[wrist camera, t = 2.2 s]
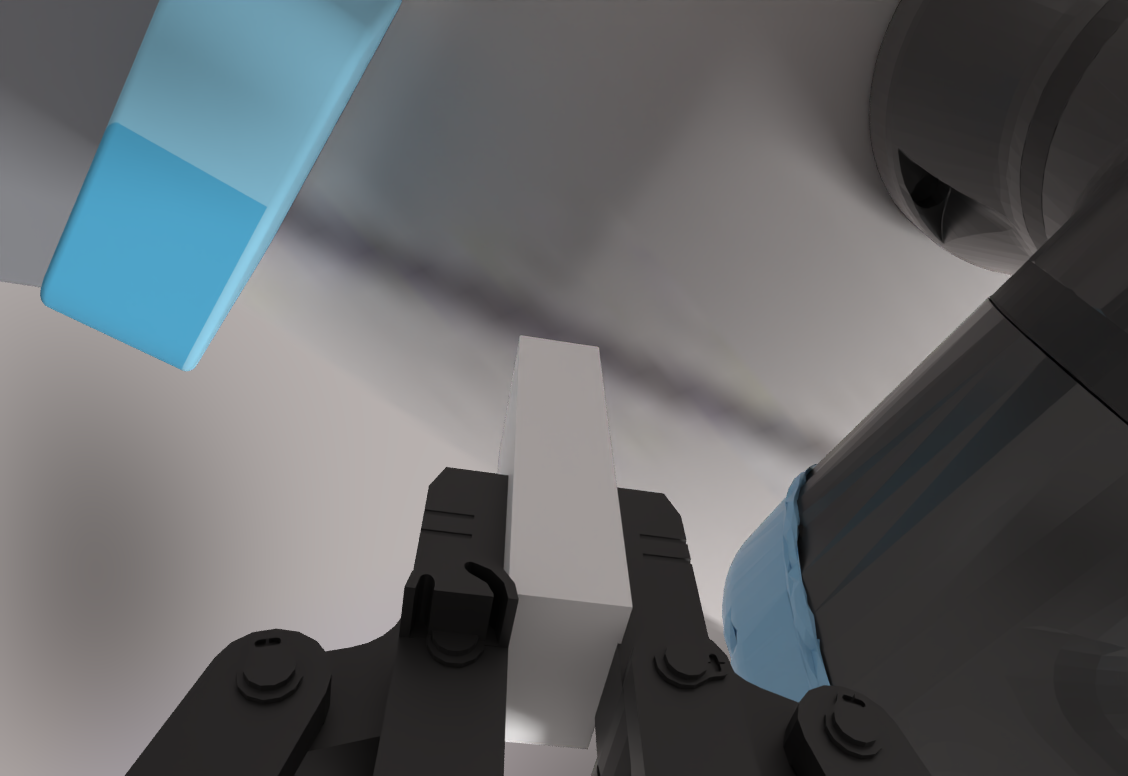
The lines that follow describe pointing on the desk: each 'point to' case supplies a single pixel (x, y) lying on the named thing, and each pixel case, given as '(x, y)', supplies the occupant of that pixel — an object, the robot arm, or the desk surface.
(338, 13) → the data package
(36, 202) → the mat
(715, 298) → the desk surface
